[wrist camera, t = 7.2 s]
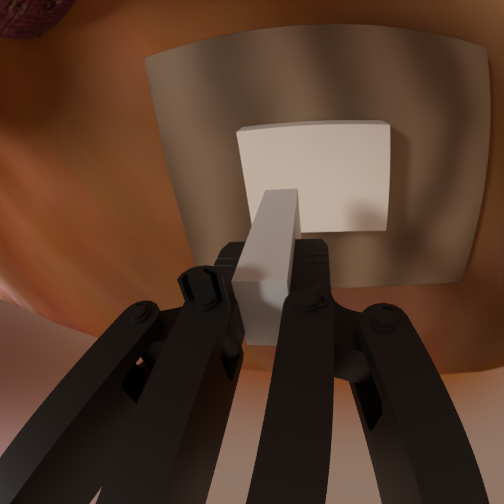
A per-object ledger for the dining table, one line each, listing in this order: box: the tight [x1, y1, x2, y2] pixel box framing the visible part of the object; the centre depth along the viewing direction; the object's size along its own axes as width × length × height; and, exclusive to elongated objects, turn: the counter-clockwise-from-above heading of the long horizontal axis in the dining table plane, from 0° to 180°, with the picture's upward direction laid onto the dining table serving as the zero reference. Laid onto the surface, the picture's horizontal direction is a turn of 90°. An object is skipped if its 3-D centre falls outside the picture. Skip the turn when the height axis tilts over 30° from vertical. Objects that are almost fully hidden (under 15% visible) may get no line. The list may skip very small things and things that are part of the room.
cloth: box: [145, 24, 491, 288], centre depth 18 cm, size 24×20×1 cm
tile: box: [236, 120, 390, 233], centre depth 17 cm, size 2×7×9 cm
